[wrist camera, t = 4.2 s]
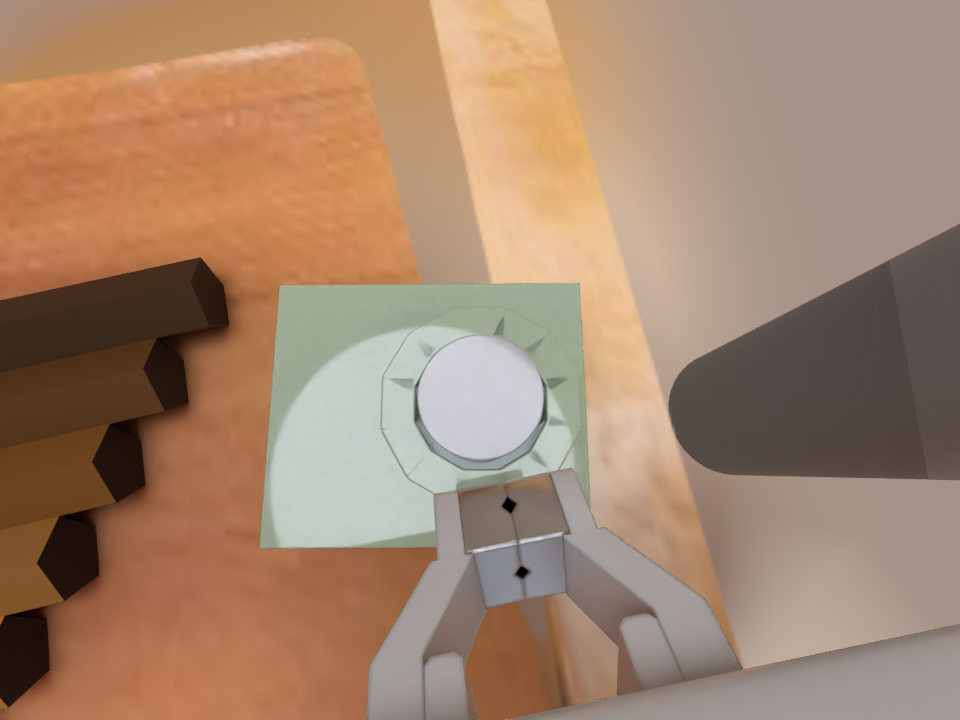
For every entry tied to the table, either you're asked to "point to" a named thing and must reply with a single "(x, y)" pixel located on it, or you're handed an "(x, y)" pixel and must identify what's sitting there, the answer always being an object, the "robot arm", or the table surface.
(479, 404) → the grey push button
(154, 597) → the table surface
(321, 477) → the dispenser
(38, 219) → the table surface
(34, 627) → the pan flute
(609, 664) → the table surface
